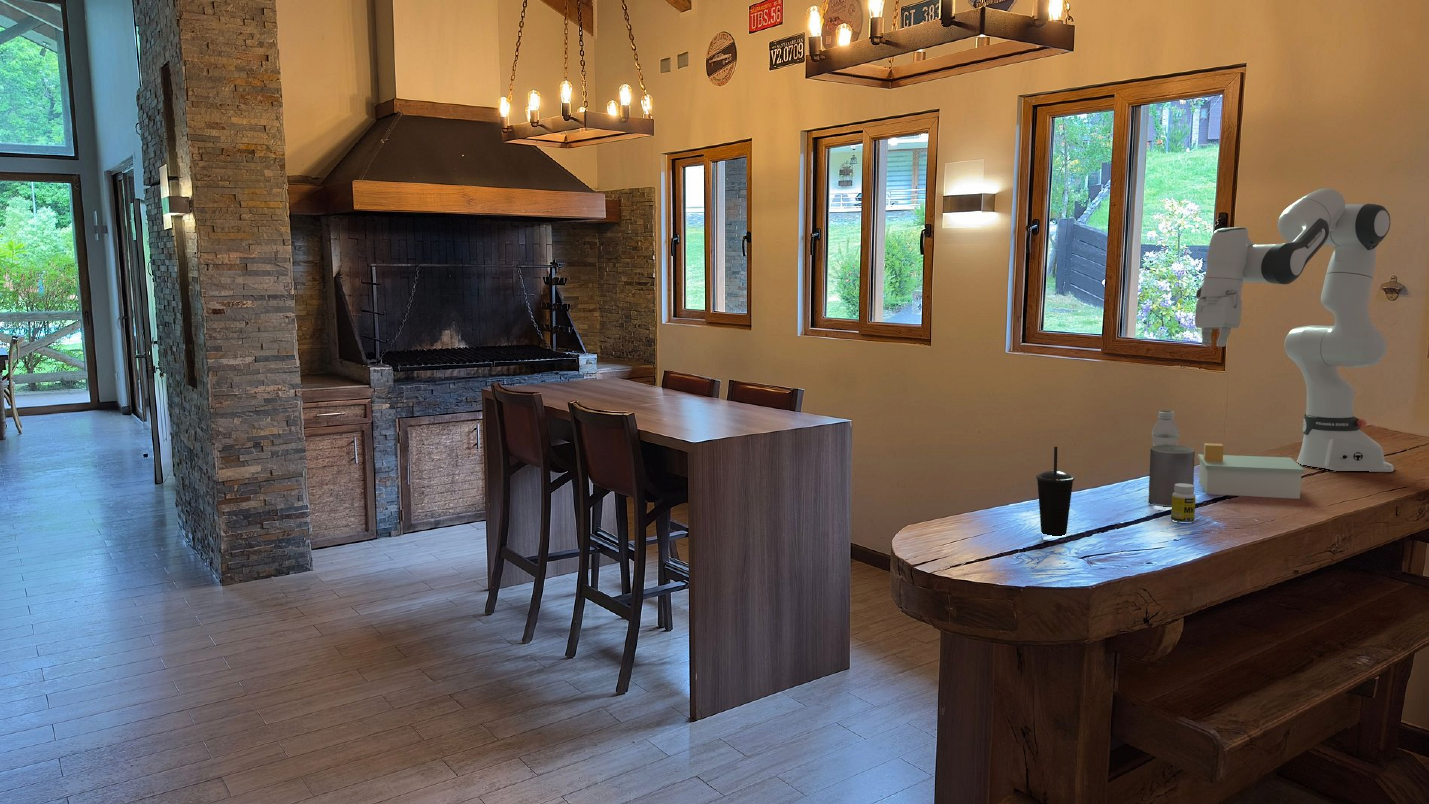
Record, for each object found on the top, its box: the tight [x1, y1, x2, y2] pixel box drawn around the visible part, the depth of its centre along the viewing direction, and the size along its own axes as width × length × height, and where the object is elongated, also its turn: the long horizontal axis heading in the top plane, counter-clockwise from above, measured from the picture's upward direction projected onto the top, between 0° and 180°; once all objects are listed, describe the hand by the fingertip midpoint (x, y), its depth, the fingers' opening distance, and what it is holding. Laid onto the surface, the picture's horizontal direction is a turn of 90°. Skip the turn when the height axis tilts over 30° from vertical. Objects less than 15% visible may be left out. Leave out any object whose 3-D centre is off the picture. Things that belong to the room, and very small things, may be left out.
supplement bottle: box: [1170, 483, 1197, 523], centre depth 212 cm, size 5×5×8 cm
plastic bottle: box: [1151, 409, 1180, 446], centre depth 243 cm, size 6×7×20 cm
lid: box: [1197, 442, 1305, 475], centre depth 236 cm, size 21×15×6 cm
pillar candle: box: [1147, 443, 1196, 507], centre depth 227 cm, size 10×10×15 cm
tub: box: [1198, 461, 1302, 500], centre depth 237 cm, size 20×14×7 cm
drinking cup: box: [1035, 446, 1076, 536], centre depth 200 cm, size 8×8×20 cm
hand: (1213, 346), depth 240 cm, fingers open, 8 cm apart
